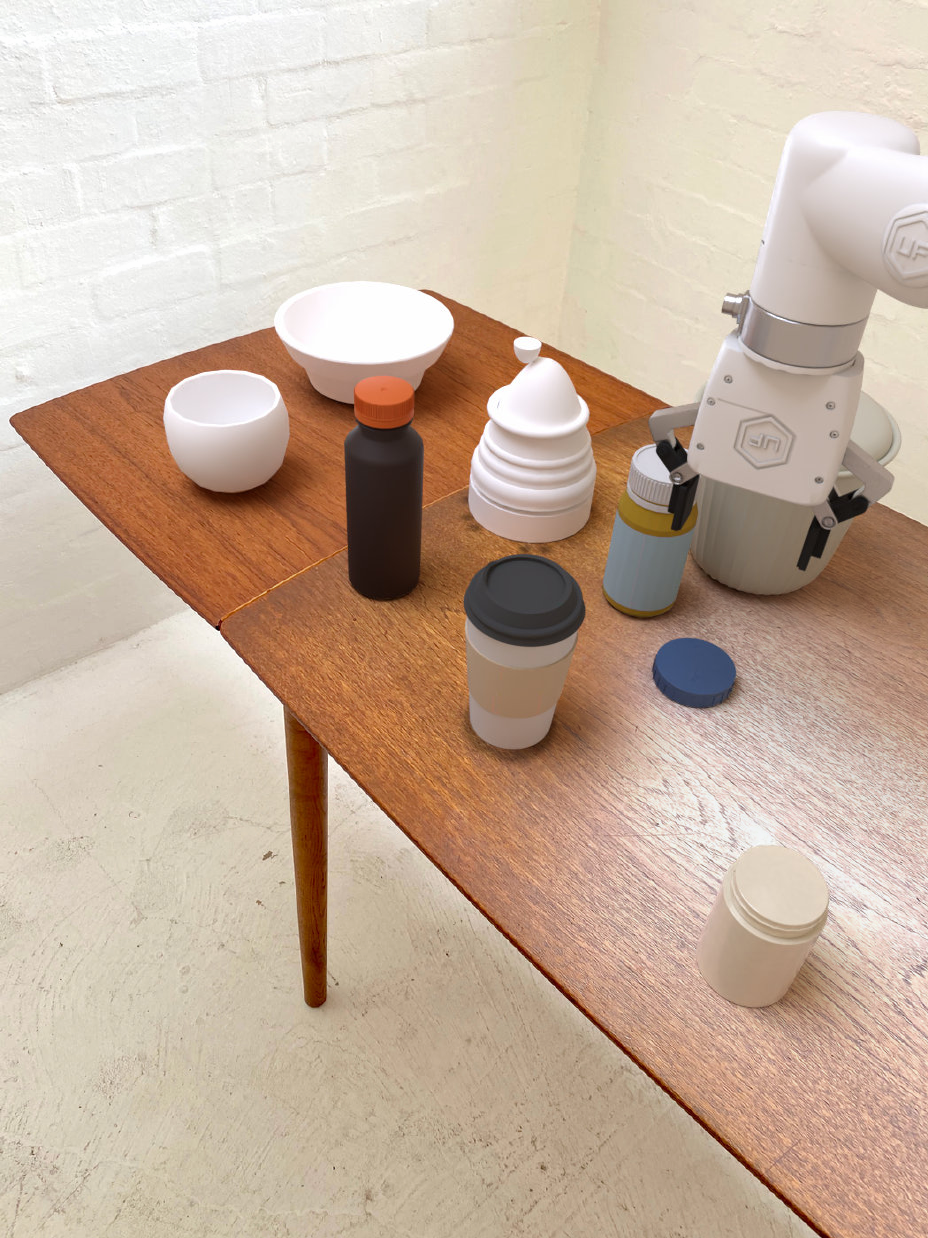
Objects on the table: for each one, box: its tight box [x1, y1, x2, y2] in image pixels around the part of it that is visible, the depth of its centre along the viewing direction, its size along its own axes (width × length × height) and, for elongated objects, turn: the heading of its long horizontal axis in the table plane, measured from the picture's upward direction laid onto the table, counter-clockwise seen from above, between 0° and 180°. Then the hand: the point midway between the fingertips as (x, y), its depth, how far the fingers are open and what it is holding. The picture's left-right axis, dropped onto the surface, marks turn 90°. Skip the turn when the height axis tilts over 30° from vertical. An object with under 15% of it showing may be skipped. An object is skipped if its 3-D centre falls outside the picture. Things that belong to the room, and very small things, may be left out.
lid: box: [651, 637, 737, 709], centre depth 85 cm, size 7×7×2 cm
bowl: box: [273, 281, 455, 405], centre depth 118 cm, size 21×21×8 cm
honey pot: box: [467, 336, 598, 544], centre depth 97 cm, size 13×13×18 cm
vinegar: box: [343, 376, 425, 600], centre depth 86 cm, size 7×7×20 cm
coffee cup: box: [462, 553, 587, 750], centre depth 76 cm, size 9×9×15 cm
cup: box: [162, 369, 291, 494], centre depth 101 cm, size 12×12×10 cm
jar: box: [695, 844, 830, 1008], centre depth 63 cm, size 6×6×10 cm
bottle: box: [601, 443, 703, 618], centre depth 88 cm, size 7×7×15 cm
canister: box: [689, 380, 903, 596], centre depth 91 cm, size 18×18×21 cm
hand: (741, 540), depth 74 cm, fingers open, 9 cm apart
